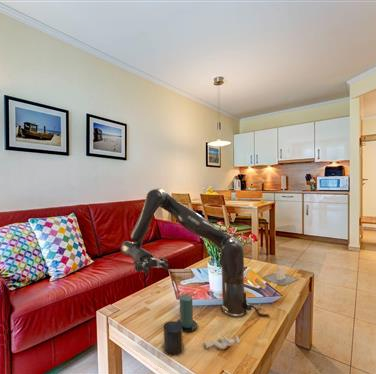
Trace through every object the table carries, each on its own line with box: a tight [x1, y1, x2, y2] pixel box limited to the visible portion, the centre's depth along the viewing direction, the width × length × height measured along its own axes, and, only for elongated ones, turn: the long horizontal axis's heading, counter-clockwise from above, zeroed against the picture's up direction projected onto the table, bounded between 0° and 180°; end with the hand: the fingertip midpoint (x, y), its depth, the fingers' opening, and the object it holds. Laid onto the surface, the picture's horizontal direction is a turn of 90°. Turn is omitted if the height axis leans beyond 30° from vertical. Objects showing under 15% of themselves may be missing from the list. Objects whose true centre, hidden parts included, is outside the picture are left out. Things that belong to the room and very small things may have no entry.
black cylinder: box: [163, 320, 184, 356], centre depth 85 cm, size 7×7×8 cm
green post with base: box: [176, 294, 198, 333], centre depth 97 cm, size 8×8×12 cm
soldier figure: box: [203, 333, 240, 350], centre depth 84 cm, size 8×5×12 cm
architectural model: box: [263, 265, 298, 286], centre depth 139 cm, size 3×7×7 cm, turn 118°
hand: (158, 269), depth 94 cm, fingers open, 8 cm apart
